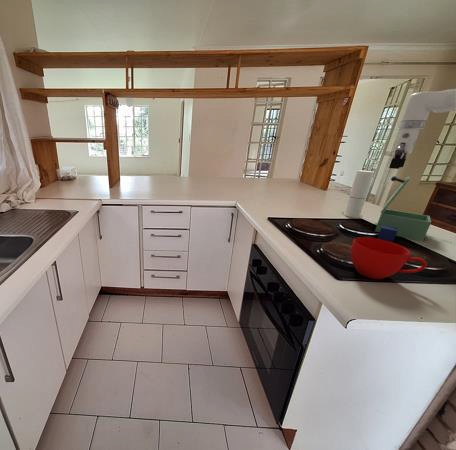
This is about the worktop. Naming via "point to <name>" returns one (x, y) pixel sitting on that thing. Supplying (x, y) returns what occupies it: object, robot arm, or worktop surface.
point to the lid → (395, 191)
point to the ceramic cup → (380, 258)
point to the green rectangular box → (405, 223)
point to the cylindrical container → (358, 193)
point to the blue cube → (387, 233)
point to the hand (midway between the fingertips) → (395, 167)
